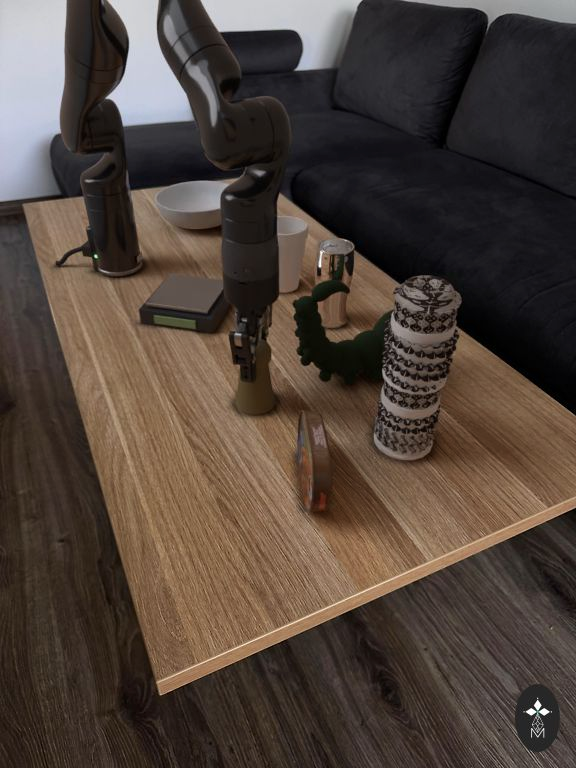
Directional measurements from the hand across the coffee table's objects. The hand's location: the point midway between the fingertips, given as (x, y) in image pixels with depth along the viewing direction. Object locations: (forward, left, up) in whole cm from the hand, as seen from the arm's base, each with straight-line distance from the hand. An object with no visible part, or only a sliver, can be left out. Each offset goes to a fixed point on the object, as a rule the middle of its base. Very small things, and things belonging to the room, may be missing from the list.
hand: (254, 368), depth 88 cm
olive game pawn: (0, 0, -7) cm, 7 cm away
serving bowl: (-33, +65, -7) cm, 73 cm away
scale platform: (-20, +24, -3) cm, 31 cm away
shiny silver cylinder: (+7, +27, -7) cm, 29 cm away
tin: (+12, -14, -7) cm, 20 cm away
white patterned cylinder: (+23, -3, -7) cm, 24 cm away
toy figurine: (+16, +12, -7) cm, 21 cm away
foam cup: (-5, +38, -7) cm, 39 cm away
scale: (-20, +24, -6) cm, 32 cm away
